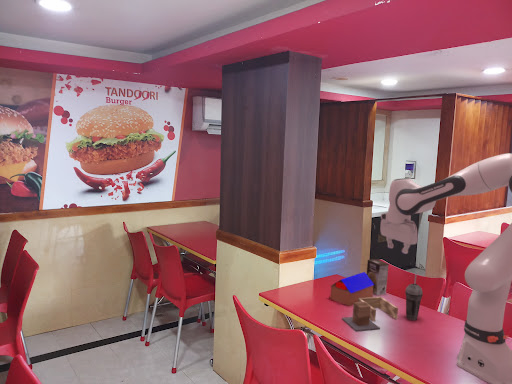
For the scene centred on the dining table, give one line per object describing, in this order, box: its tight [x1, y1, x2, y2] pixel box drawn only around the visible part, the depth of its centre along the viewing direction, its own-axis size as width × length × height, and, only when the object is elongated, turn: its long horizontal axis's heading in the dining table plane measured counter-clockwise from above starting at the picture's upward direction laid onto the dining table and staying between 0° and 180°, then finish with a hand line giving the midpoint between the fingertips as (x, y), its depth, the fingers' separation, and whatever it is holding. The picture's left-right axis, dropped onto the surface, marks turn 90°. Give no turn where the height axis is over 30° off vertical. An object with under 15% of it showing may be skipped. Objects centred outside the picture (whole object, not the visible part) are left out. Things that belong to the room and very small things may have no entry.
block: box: [352, 302, 371, 326], centre depth 175 cm, size 5×5×8 cm
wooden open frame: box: [358, 296, 399, 322], centre depth 187 cm, size 14×12×5 cm
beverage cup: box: [404, 273, 423, 321], centre depth 183 cm, size 7×7×20 cm
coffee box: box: [366, 258, 390, 296], centre depth 214 cm, size 9×6×16 cm
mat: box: [341, 316, 381, 332], centre depth 176 cm, size 12×11×1 cm
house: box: [329, 271, 374, 307], centre depth 204 cm, size 12×20×12 cm, turn 133°
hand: (397, 250), depth 172 cm, fingers open, 8 cm apart
